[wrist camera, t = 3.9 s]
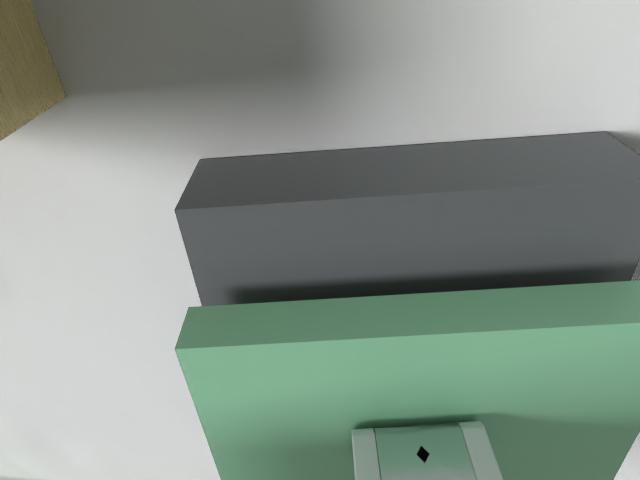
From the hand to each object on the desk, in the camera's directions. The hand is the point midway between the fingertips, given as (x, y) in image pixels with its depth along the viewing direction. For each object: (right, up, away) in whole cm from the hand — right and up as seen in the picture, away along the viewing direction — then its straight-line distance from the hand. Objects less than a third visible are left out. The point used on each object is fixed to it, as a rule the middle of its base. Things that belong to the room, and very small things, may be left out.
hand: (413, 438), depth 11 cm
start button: (0, +2, +2) cm, 3 cm away
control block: (0, +3, +4) cm, 5 cm away
